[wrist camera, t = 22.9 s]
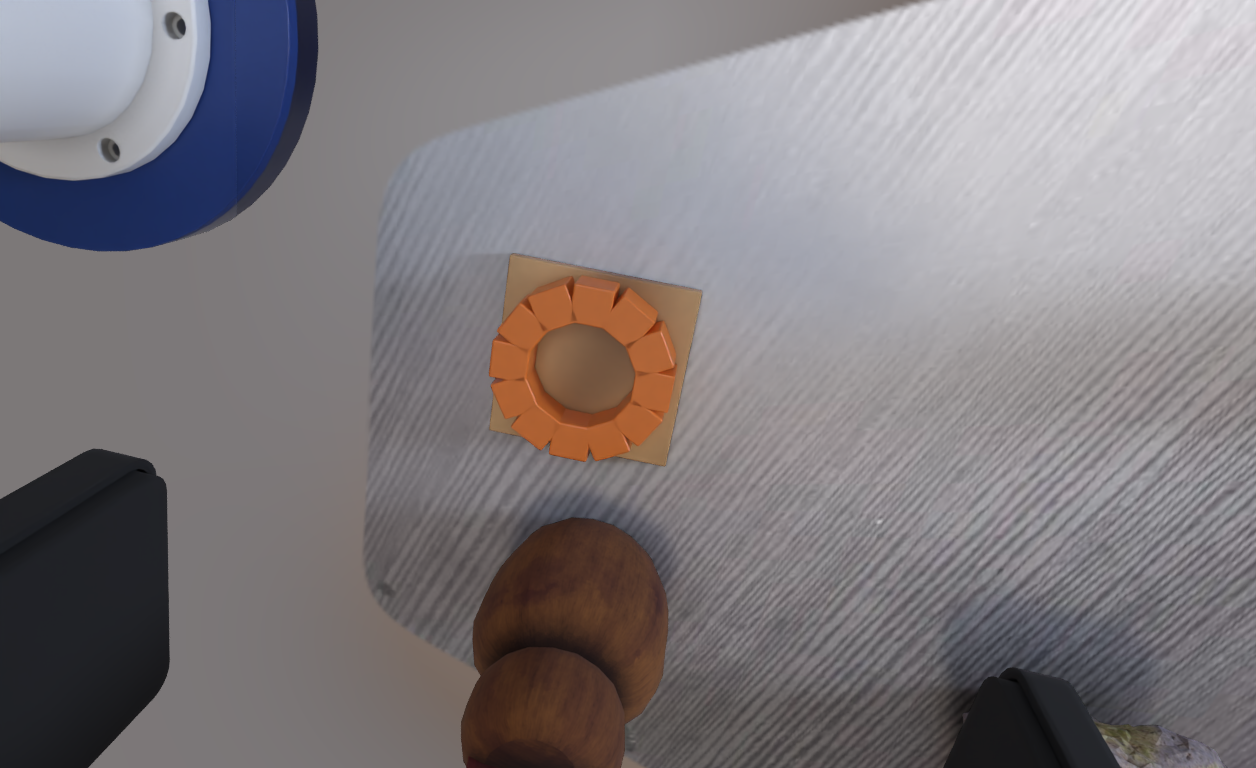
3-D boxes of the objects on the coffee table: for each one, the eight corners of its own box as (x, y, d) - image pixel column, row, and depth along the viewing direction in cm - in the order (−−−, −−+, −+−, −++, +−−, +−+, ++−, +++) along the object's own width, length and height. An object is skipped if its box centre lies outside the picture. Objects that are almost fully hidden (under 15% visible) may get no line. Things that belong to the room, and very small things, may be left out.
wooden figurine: (697, 540, 32) (674, 891, 18) (638, 644, 34) (577, 1031, 20) (543, 471, 32) (398, 771, 18) (494, 580, 34) (328, 926, 20)
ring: (510, 260, 28) (500, 268, 27) (691, 296, 28) (689, 306, 27) (491, 426, 31) (480, 440, 29) (657, 460, 30) (654, 477, 29)
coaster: (491, 426, 31) (488, 430, 31) (512, 252, 29) (509, 254, 28) (665, 462, 31) (665, 467, 30) (702, 290, 28) (702, 292, 28)
